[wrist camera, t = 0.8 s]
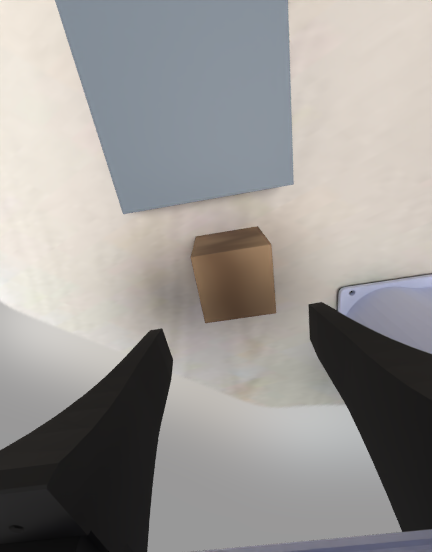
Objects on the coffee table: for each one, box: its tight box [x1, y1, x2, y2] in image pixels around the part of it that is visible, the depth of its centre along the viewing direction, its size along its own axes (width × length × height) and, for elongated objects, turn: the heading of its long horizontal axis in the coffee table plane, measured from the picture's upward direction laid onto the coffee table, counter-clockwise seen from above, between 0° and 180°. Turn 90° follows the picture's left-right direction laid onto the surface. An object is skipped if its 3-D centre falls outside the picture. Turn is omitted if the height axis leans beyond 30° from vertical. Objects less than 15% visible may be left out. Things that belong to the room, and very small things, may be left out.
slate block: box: [55, 0, 294, 214], centre depth 15 cm, size 11×11×4 cm
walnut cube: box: [191, 226, 276, 323], centre depth 18 cm, size 5×5×5 cm
